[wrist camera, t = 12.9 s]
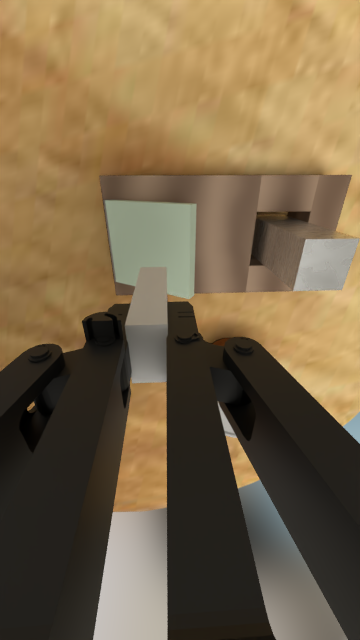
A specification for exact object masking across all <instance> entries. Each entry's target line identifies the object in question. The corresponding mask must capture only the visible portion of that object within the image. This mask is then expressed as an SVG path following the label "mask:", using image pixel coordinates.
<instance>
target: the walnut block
mask: <svg viewBox="0 0 360 640" xmlns="http://www.w3.org/2000/svg"><path fill="white" fill-rule="evenodd" d="M351 176H352V175H134V176H99V177H100V184H101V191H102V198H103V200H130V201H151V202H172V203H193V204H197V205H196V241H195V278H194V293H234V292H276V291H293V290H291V289H290V288H289V287H288V286H287V285H286V284H285V283H284V282H282V281H281V280H280V279H279V278H278V277H277V276H276V275H274V274H273V273H272V272H271V271H270V270H269V269H268V268H266V267H265V266H264V265H263V264H262V263H261V262H260V261H259V260H257V259H256V258H255V257H254V256H253V255H252V254H251V250H252V243H253V236H254V229H255V222H256V214H257V212H288V216H289V217H292V218H295V219H298V220H302V221H305V222H308V223H311V224H314V225H318V226H321V227H324V228H327V229H331V230H334V231H336V227H337V224H338V221H339V217H340V214H341V210H342V207H343V204H344V200H345V197H346V193H347V190H348V186H349V183H350V180H351ZM103 205H104V201H103ZM104 212H105V208H104ZM105 219H106V216H105ZM106 226H107V223H106ZM107 233H108V230H107ZM108 240H109V237H108ZM109 247H110V244H109ZM110 255H111V251H110ZM111 262H112V258H111ZM112 269H113V265H112ZM113 276H114V273H113ZM114 283H115V290H116V295H133V293H134V290H135V286H132V285H128V284H123V283H119V282H115V280H114ZM316 291H318V290H316Z"/></svg>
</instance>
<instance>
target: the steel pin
mask: <svg viewBox="0 0 360 640" xmlns="http://www.w3.org/2000/svg"><path fill="white" fill-rule="evenodd" d="M359 239H360V238H356V237H353V236H350V235H347V234H343V233H340V232H337V231H334V230H331V229H327V228H324V227H321V226H318V225H314V224H311V223H308V222H305V221H302V220H298V219H295V218H292V217H289V216H285V215H282V214H256V222H255V229H254V236H253V243H252V250H251V254H252V255H253V256H254V257H255V258H256V259H257V260H259V261H260V262H261V263H262V264H263V265H264V266H265V267H266V268H268V269H269V270H270V271H271V272H272V273H273V274H274V275H276V276H277V277H278V278H279V279H280V280H281V281H282V282H284V283H285V284H286V285H287V286H288V287H289V288H290V289H291V290H293V291H316V290H342V288H343V285H344V283H345V280H346V277H347V274H348V271H349V268H350V265H351V262H352V259H353V256H354V254H355V251H356V248H357V245H358V242H359Z"/></svg>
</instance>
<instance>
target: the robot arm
mask: <svg viewBox="0 0 360 640" xmlns="http://www.w3.org/2000/svg"><path fill="white" fill-rule="evenodd" d="M82 324H83V328H84V333H85V337H86V343H85V345H84V347H83V348H82V349H78V350H75V351H70V352H66V353H63V352H62V348H61V347H59V346H58V345H55V344H42V345H37V346H35V347H32V348H30V349H28V350H27V351H25V352H23V353H22V354H21V355H20V356H19V357H17V358H16V359H15V360H14V361H12V362H11V363H10V364H9V365H8V366H6V367H5V368H4V369H3V370H2V371H0V640H93V635H94V629H95V622H96V616H97V609H98V603H99V597H100V590H101V583H102V577H103V570H104V564H105V557H106V551H107V545H108V539H109V532H110V526H111V519H112V513H113V506H114V500H115V493H116V487H117V480H118V474H119V467H120V461H121V454H122V448H123V441H124V435H125V428H126V422H127V415H128V409H129V402H130V396H131V389H130V378H132V383H151V382H167V571H168V572H167V573H168V574H167V580H168V582H167V585H168V586H167V587H168V640H276V639H275V637H274V635H273V632H272V629H271V626H270V624H269V620H268V617H267V613H266V609H265V605H264V600H263V596H262V592H261V587H260V583H259V579H258V575H257V570H256V566H255V562H254V557H253V553H252V549H251V544H250V540H249V536H248V531H247V527H246V523H245V518H244V514H243V510H242V505H241V501H240V497H239V493H238V488H237V484H236V479H235V475H234V471H233V466H232V462H231V458H230V454H229V449H228V445H227V441H226V436H225V432H224V428H223V423H222V419H221V415H220V410H219V406H218V402H219V405H220V407H221V409H222V411H223V413H224V415H225V416H226V418H227V420H228V422H229V424H230V425H231V427H232V429H233V431H234V433H235V435H236V436H237V438H238V440H239V442H240V444H241V446H242V447H243V449H244V451H245V453H246V455H247V456H248V458H249V460H250V462H251V464H252V466H253V467H254V469H255V471H256V473H257V475H258V476H259V478H260V480H261V482H262V484H263V486H264V487H265V489H266V491H267V493H268V495H269V496H270V498H271V500H272V502H273V504H274V505H275V507H276V509H277V511H278V513H279V515H280V517H281V518H282V520H283V522H284V524H285V525H286V527H287V529H288V531H289V533H290V535H291V537H292V538H293V540H294V542H295V544H296V545H297V547H298V549H299V551H300V553H301V555H302V557H303V558H304V560H305V562H306V564H307V565H308V567H309V569H310V571H311V573H312V575H313V577H314V578H315V580H316V582H317V584H318V585H319V587H320V589H321V591H322V593H323V595H324V597H325V598H326V600H327V602H328V604H329V606H330V608H331V609H332V611H333V613H334V615H335V617H336V618H337V620H338V622H339V624H340V626H341V627H342V629H343V631H344V633H345V635H346V636H347V638H348V640H360V444H359V443H358V442H357V441H356V440H355V439H354V438H353V437H352V436H351V435H350V434H349V433H348V432H347V431H346V430H345V429H344V428H343V427H342V426H341V425H340V424H339V423H338V422H337V421H336V420H335V419H334V418H333V417H332V416H331V415H330V414H329V413H328V412H327V411H326V410H325V409H324V408H323V407H322V406H321V405H320V404H319V403H318V402H317V401H316V400H315V399H314V398H313V397H312V396H311V395H310V394H309V393H308V392H307V391H306V390H305V389H304V388H303V387H302V386H301V385H300V384H299V383H298V382H297V381H296V380H295V379H294V378H293V377H292V376H291V375H290V374H289V373H288V372H287V371H286V369H285V368H284V367H283V366H282V365H281V364H280V363H279V362H278V361H277V360H276V359H275V358H274V357H273V356H272V355H271V354H270V353H269V352H268V351H267V350H266V349H265V348H264V347H263V346H262V345H261V344H259V343H258V342H256V341H255V340H252V339H250V338H246V337H234V338H231V339H228V340H227V341H226V342H225V345H224V346H219V345H214V344H210V343H208V342H206V341H204V340H203V337H202V336H201V334H200V333H198V328H197V324H196V319H195V315H194V310H193V306H192V305H191V304H190V303H189V302H167V269H166V267H141V268H140V271H139V275H138V279H137V282H136V286H135V290H134V293H133V297H132V301H131V304H114V305H113V306H112V307H111V308H109V309H108V312H99V313H95V314H92V315H89V316H88V317H86V318H85V319H84V320H83V321H82ZM33 401H34V403H35V406H34V407H33V408H32V409H31V410H29V411H27V408H28V407H29V405H30V404H31V403H32V402H33ZM217 401H218V402H217Z"/></svg>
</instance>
